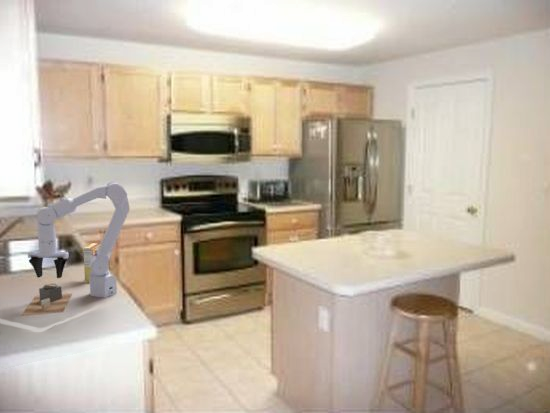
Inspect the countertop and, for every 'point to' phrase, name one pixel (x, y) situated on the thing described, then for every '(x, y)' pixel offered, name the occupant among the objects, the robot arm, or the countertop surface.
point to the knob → (50, 292)
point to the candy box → (88, 253)
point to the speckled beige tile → (45, 303)
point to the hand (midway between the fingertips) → (49, 277)
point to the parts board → (54, 307)
